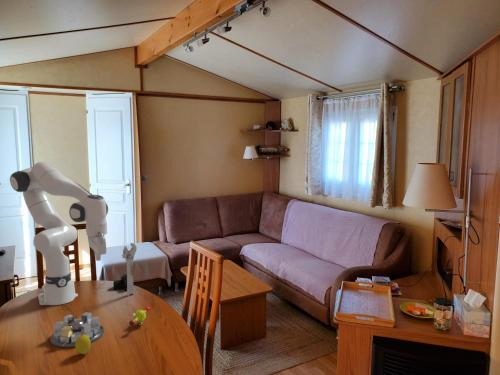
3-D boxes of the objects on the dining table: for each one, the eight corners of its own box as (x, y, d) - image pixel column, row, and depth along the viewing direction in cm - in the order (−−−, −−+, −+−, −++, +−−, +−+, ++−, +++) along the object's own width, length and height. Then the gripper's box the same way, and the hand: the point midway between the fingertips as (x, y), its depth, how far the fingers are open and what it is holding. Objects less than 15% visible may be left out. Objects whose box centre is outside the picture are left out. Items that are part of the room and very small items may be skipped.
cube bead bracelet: (71, 322, 178) (70, 310, 178) (107, 325, 176) (107, 313, 175) (44, 341, 161) (43, 328, 160) (85, 344, 158) (84, 331, 157)
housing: (43, 335, 169) (43, 321, 168) (92, 320, 183) (92, 308, 182) (60, 353, 153) (59, 338, 153) (111, 336, 168) (111, 322, 167)
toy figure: (143, 316, 188) (142, 302, 188) (154, 317, 187) (153, 303, 187) (124, 333, 171) (124, 318, 170) (136, 334, 170) (135, 319, 169)
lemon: (78, 351, 155) (77, 331, 154) (92, 350, 156) (92, 331, 155) (73, 358, 150) (72, 338, 149) (88, 357, 150) (87, 337, 149)
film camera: (113, 287, 229) (112, 272, 228) (130, 285, 232) (130, 270, 232) (113, 296, 215) (113, 280, 214) (132, 294, 218) (131, 278, 217)
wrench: (124, 299, 209) (122, 244, 206) (122, 299, 210) (120, 244, 208) (138, 296, 214) (136, 242, 212) (136, 295, 216) (134, 241, 213)
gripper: (109, 233, 172) (110, 264, 173) (99, 226, 189) (100, 254, 190) (94, 235, 169) (95, 266, 170) (85, 227, 186) (86, 256, 187)
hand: (97, 260), depth 180 cm, fingers closed
